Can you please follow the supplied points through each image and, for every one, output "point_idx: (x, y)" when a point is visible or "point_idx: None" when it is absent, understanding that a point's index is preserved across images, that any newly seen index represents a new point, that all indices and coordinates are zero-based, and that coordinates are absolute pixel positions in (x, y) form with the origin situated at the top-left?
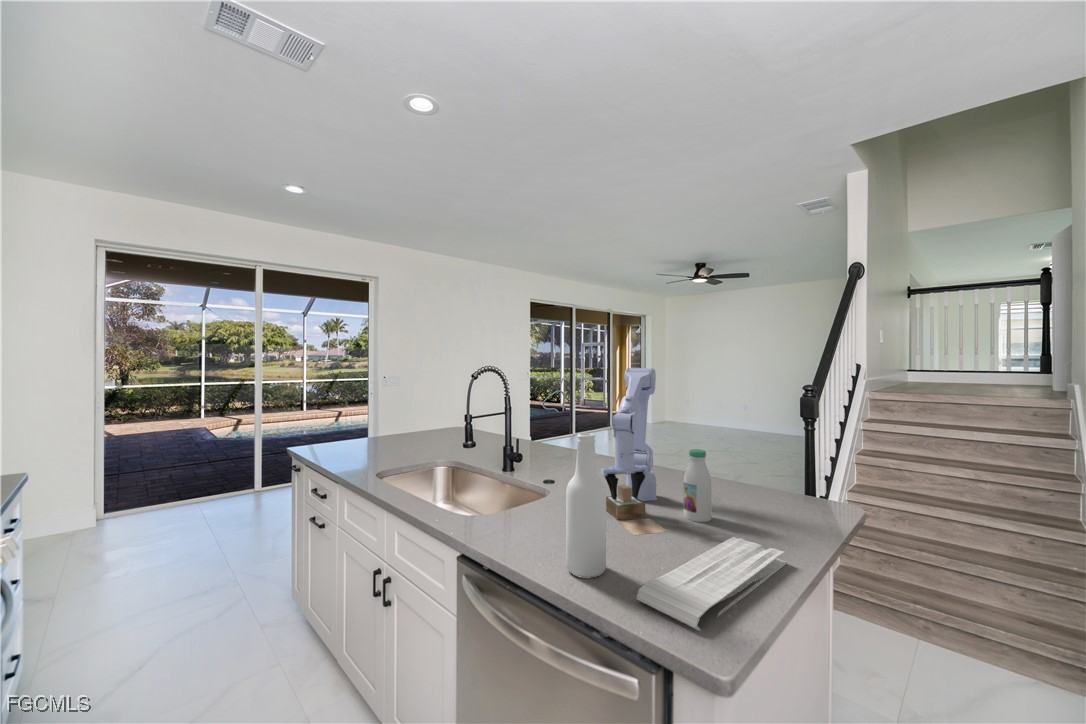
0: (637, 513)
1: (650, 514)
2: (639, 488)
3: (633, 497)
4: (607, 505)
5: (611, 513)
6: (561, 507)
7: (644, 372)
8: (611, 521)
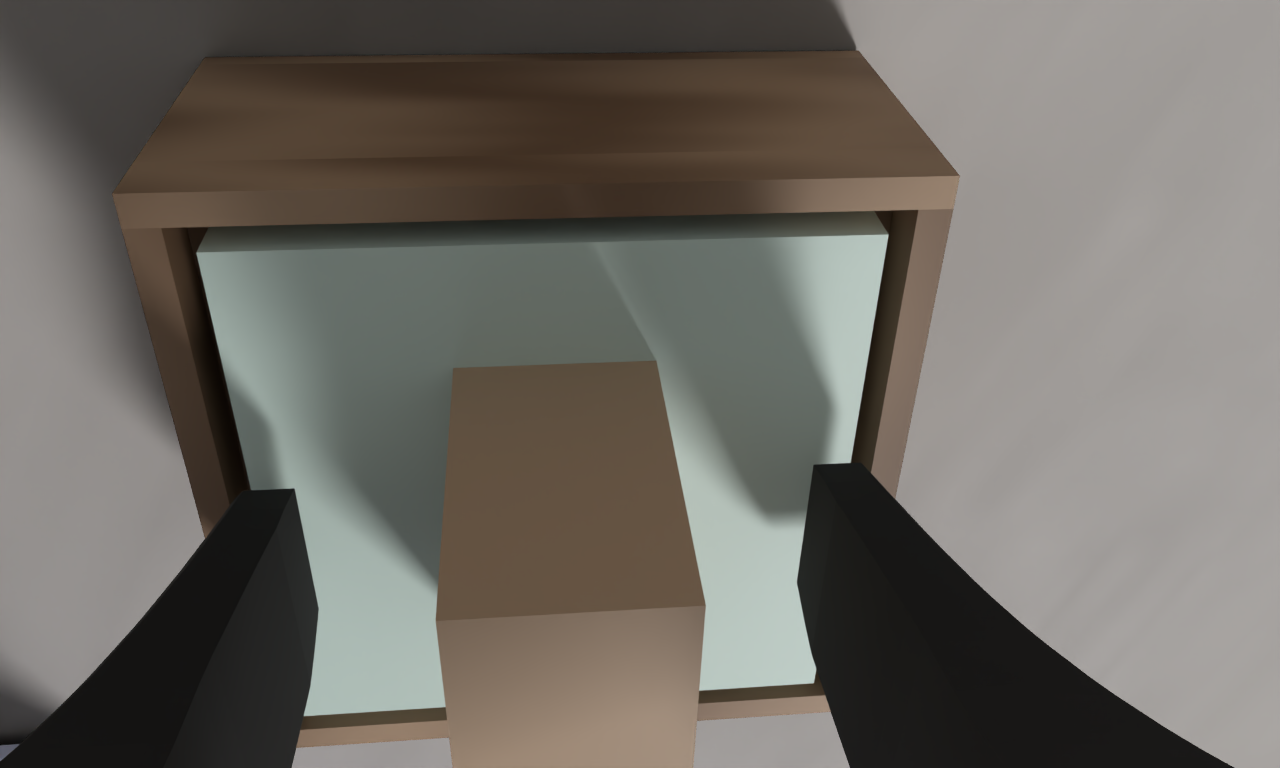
0: (388, 92)
1: (23, 216)
2: (118, 651)
3: None
4: None
5: None
6: (1267, 708)
7: None
8: (974, 55)
